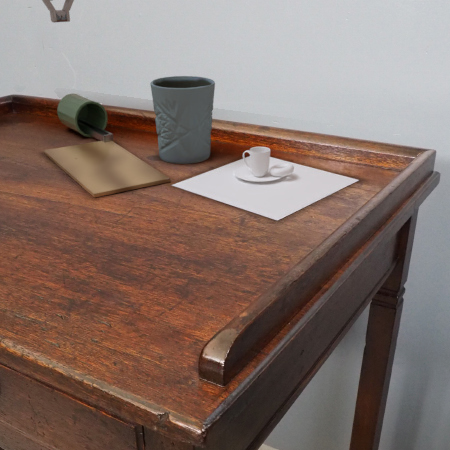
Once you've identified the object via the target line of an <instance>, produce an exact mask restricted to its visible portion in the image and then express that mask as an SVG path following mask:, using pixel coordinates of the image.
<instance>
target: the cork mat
mask: <svg viewBox="0 0 450 450" xmlns="http://www.w3.org/2000/svg"><path fill="white" fill-rule="evenodd" d="M43 154H44V155H45V156H46V157H47V158H48V159H49V160H51V161H52V162H53V163H54V164H55V165H57V166H58V167H59V168H60V169H61V170H62V171H63V172H64V173H65V174H67V175H68V176H69V177H70V178H72V179H73V181H75V182H76V183H77V184H78V185H80V187H82V188H83V190H85V191H86V193H88V194H89V195H91V197H93V198H100V197H104V196H110V195H113V194H119V193H124V192H127V191H128V192H129V191H132V190H133V191H134V190H137V189H141V188H147V187H152V186H156V185H162V184H166V183H170V182H171V180H170V179H171V178H170V177H169V176H167V175H165V174H164V173H163V172H161V171H159V170H158V169H156V168H155V167H153V166H151V165H150V164H148V163H147V162H146V161H144V160H142V159H140V157H137V155H134V154H133V153H131V152H130V151H128V150H127V149H126V148H124V147H122V146H121V145H119V144H117V142H115V141H114V140H113V141H108V142H102V141H101V140H97V141H91V142H86V143H85V142H84V143H80V144H74V145H69V146H62V147H56V148H49V149H43Z"/></svg>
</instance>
